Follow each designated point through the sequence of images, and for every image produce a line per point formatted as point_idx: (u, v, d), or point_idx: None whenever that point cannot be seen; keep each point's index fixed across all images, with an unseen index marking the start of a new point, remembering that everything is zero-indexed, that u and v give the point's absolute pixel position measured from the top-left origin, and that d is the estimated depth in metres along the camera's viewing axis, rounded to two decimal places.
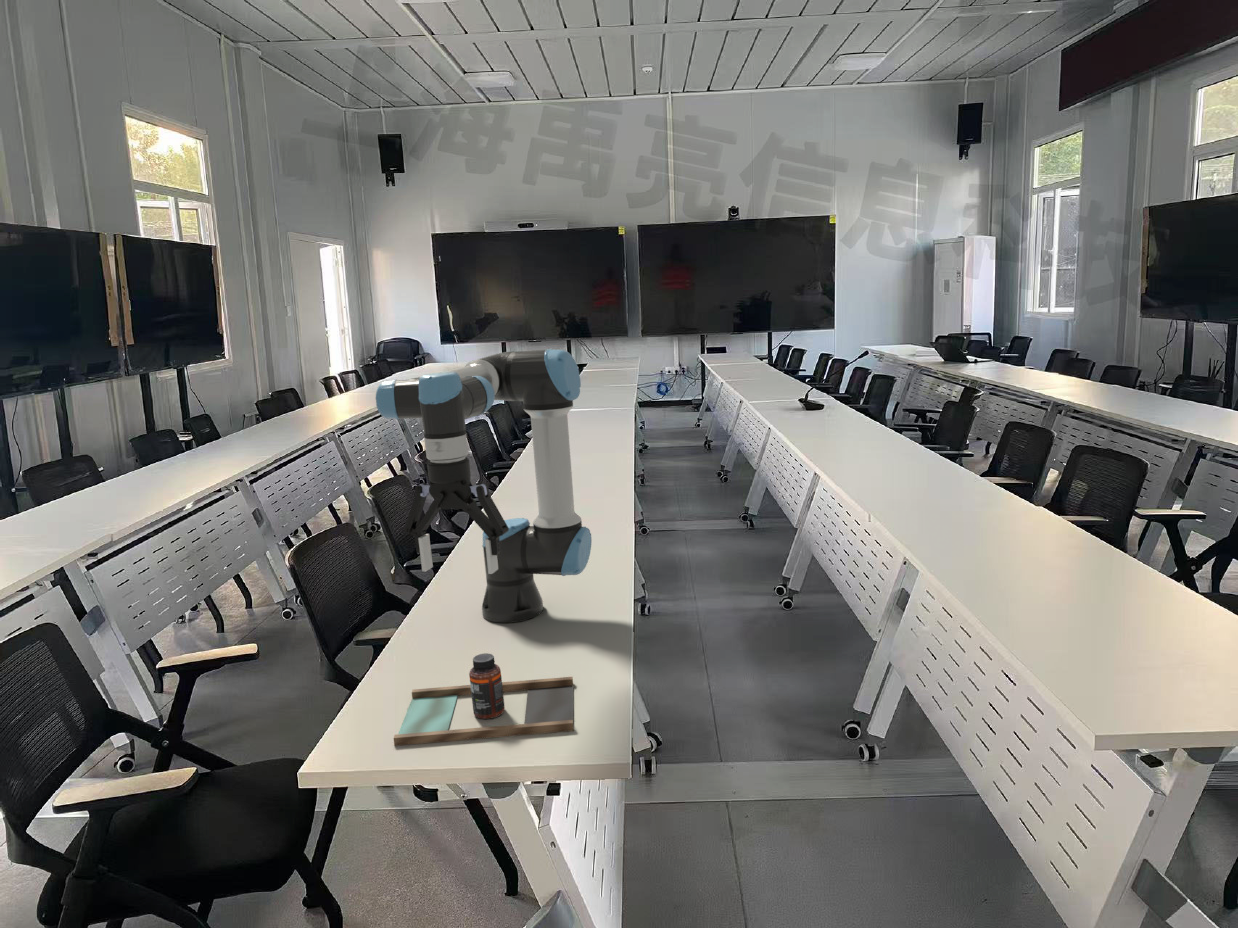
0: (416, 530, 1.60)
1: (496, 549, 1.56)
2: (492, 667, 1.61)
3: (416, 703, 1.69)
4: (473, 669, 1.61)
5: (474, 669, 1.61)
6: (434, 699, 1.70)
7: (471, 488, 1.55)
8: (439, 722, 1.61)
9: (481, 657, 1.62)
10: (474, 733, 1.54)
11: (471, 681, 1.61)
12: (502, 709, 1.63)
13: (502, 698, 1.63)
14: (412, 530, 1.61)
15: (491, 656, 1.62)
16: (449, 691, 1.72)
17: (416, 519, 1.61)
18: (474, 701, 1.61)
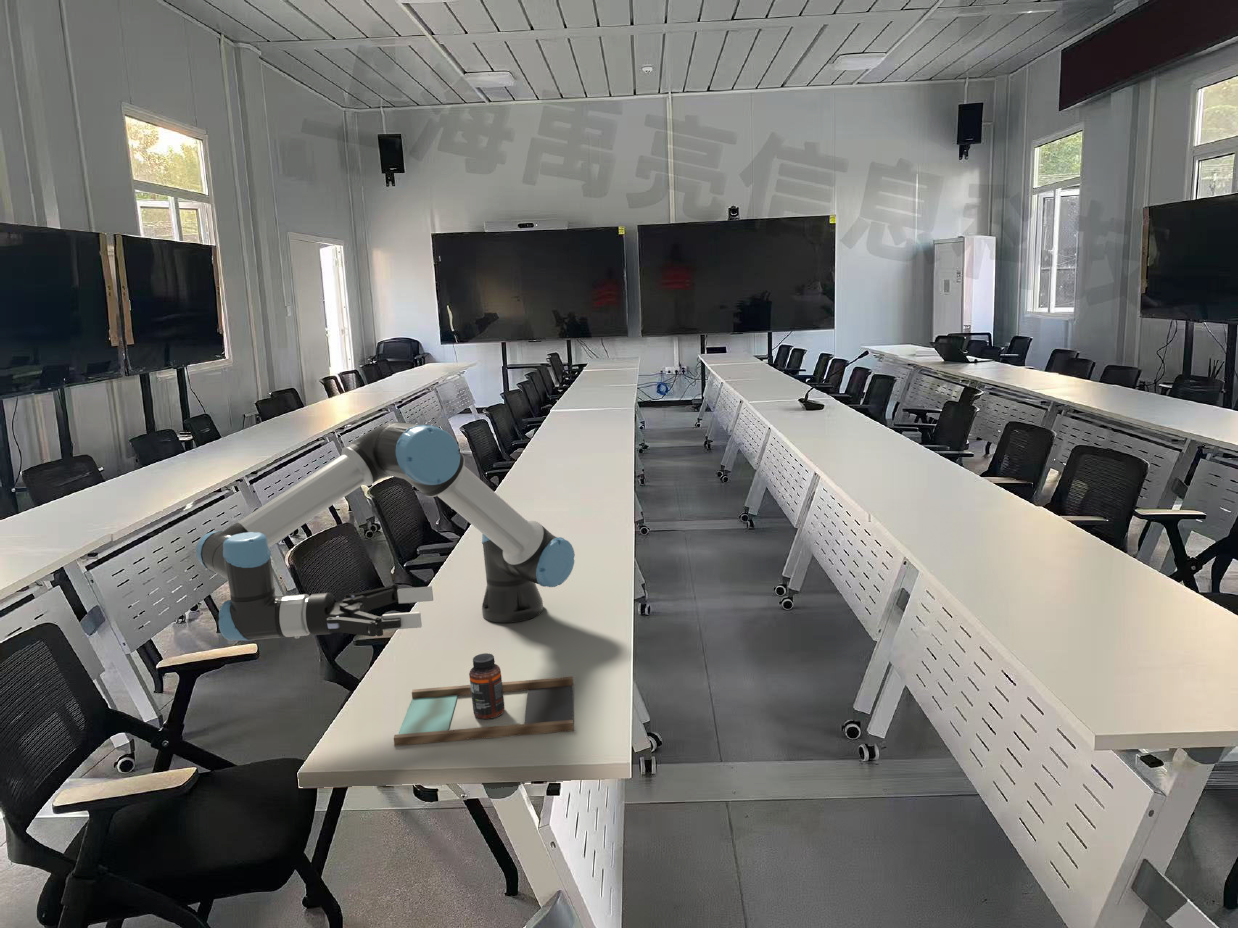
0: None
1: None
2: (492, 667, 1.61)
3: (416, 703, 1.69)
4: (473, 669, 1.61)
5: (474, 669, 1.61)
6: (434, 699, 1.70)
7: None
8: (439, 722, 1.61)
9: (481, 657, 1.62)
10: (474, 733, 1.54)
11: (471, 681, 1.61)
12: (502, 709, 1.63)
13: (502, 698, 1.63)
14: None
15: (491, 656, 1.62)
16: (449, 691, 1.72)
17: None
18: (474, 701, 1.61)
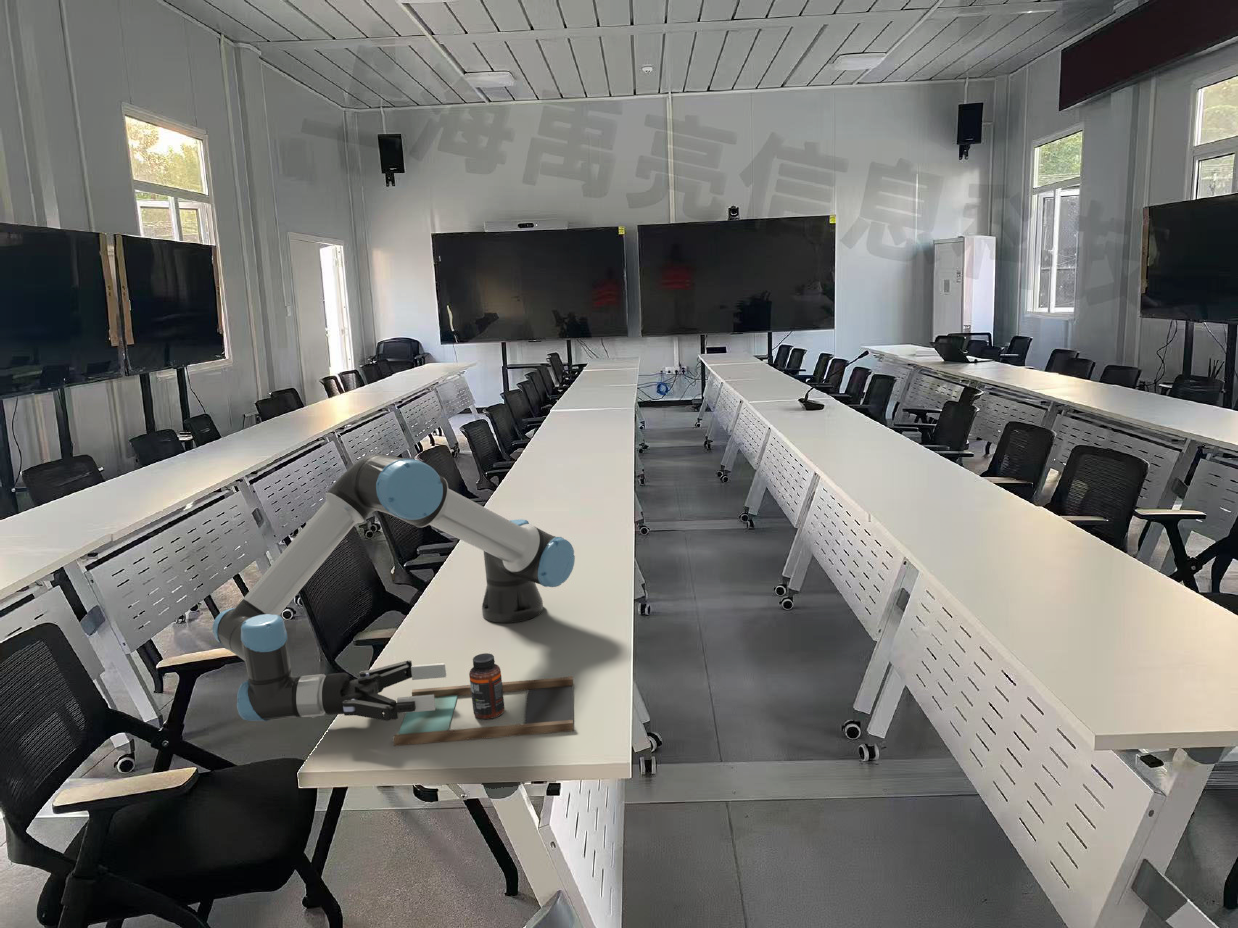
0: None
1: None
2: (492, 667, 1.61)
3: None
4: (473, 669, 1.61)
5: (474, 669, 1.61)
6: None
7: None
8: (439, 722, 1.61)
9: (481, 657, 1.62)
10: (474, 733, 1.54)
11: (471, 681, 1.61)
12: (502, 709, 1.63)
13: (502, 698, 1.63)
14: None
15: (491, 656, 1.62)
16: (449, 691, 1.72)
17: None
18: (474, 701, 1.61)
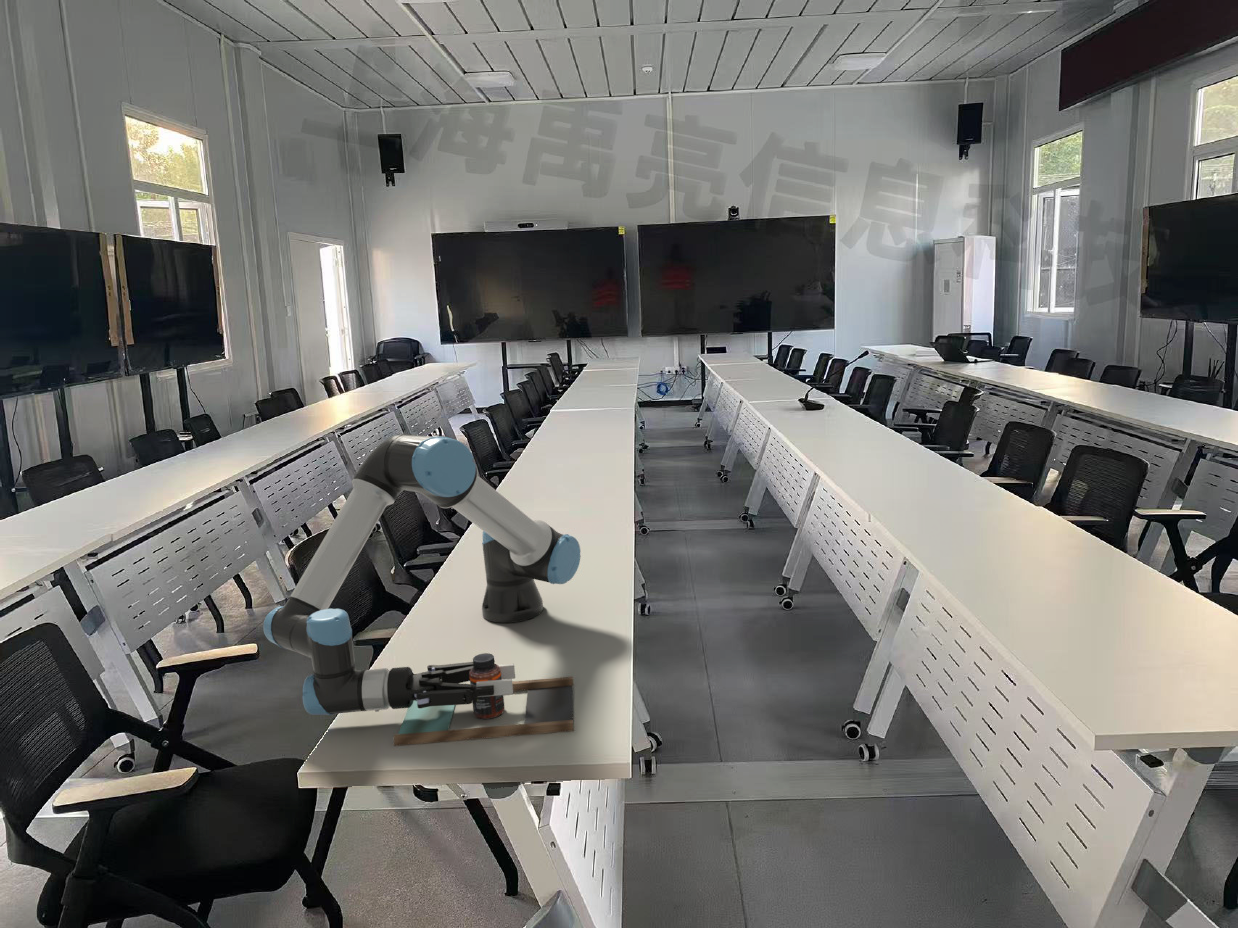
0: None
1: None
2: (492, 667, 1.61)
3: (416, 703, 1.69)
4: (473, 669, 1.61)
5: (474, 669, 1.61)
6: None
7: None
8: (439, 722, 1.61)
9: (481, 657, 1.62)
10: (474, 733, 1.54)
11: (471, 681, 1.61)
12: (502, 709, 1.63)
13: (502, 698, 1.63)
14: None
15: (491, 656, 1.62)
16: None
17: None
18: None
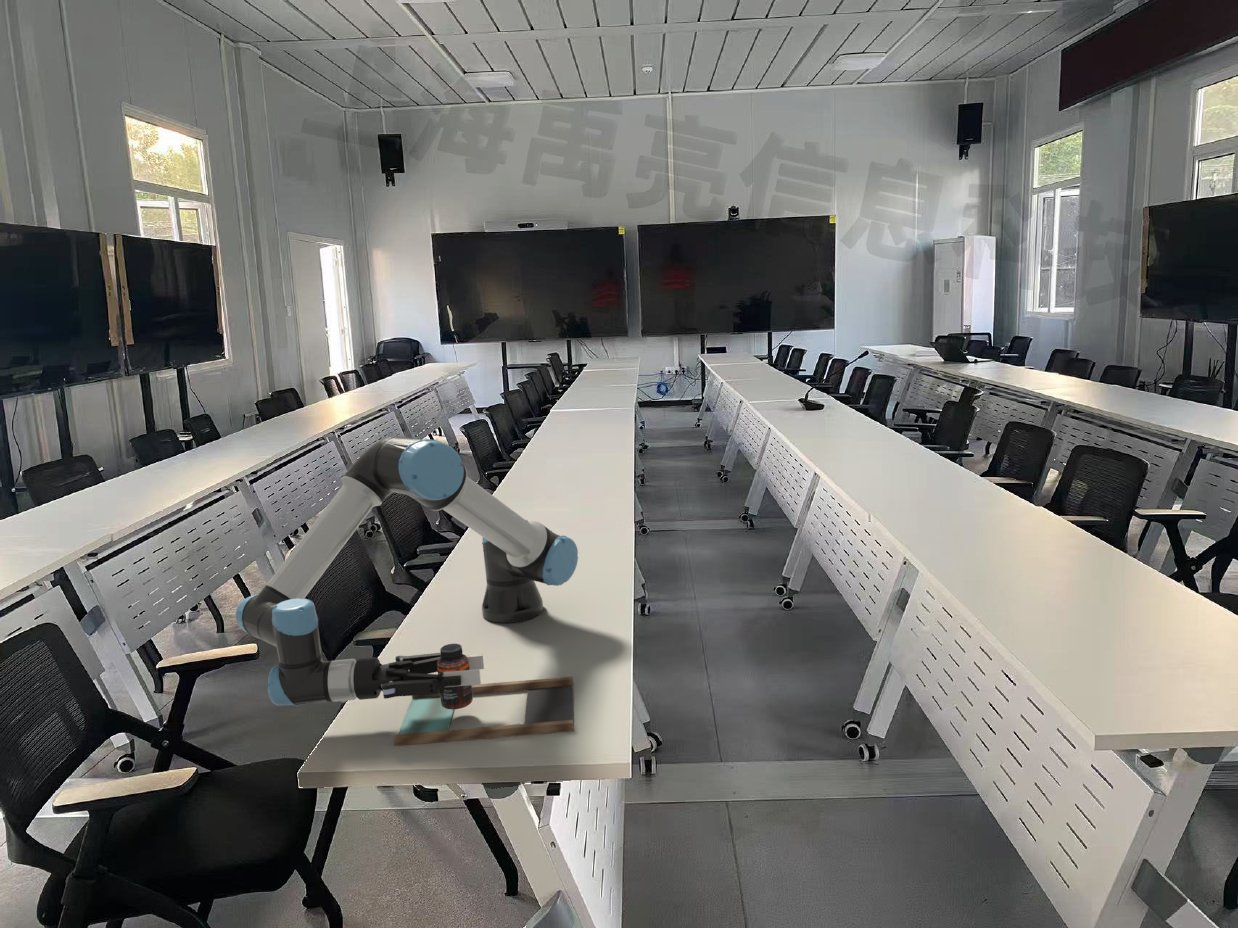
0: None
1: None
2: (459, 657, 1.60)
3: (416, 703, 1.69)
4: (440, 659, 1.60)
5: (441, 659, 1.60)
6: (434, 699, 1.70)
7: None
8: (439, 722, 1.61)
9: (449, 647, 1.61)
10: (474, 733, 1.54)
11: (438, 672, 1.60)
12: (470, 700, 1.62)
13: (470, 688, 1.62)
14: None
15: (459, 646, 1.61)
16: None
17: None
18: None
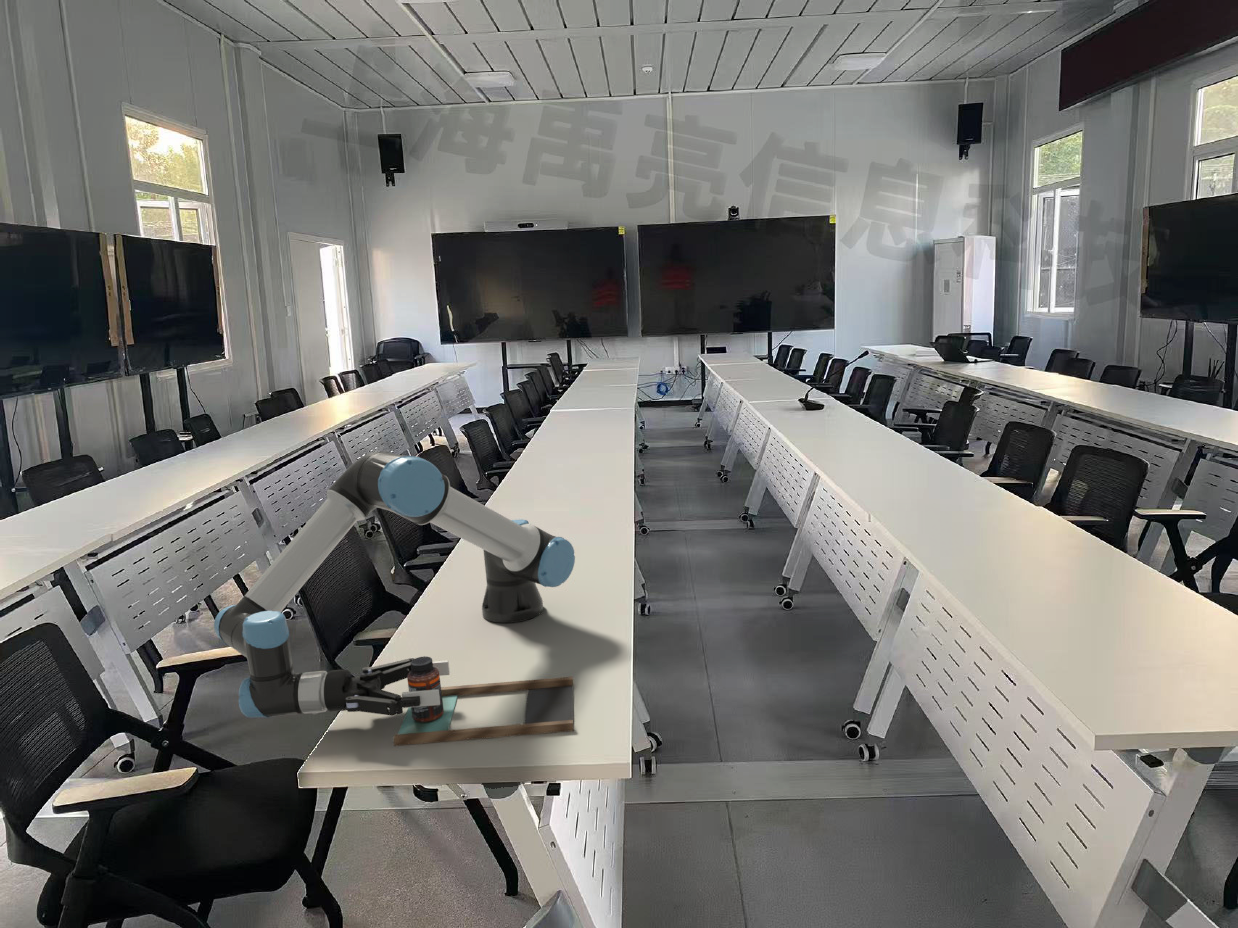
0: None
1: (413, 705, 1.55)
2: (429, 671, 1.60)
3: None
4: (411, 672, 1.61)
5: (412, 672, 1.60)
6: None
7: None
8: (439, 722, 1.61)
9: (419, 660, 1.61)
10: (474, 733, 1.54)
11: (409, 685, 1.60)
12: (441, 712, 1.62)
13: (441, 701, 1.62)
14: None
15: (429, 659, 1.61)
16: (449, 691, 1.72)
17: None
18: None
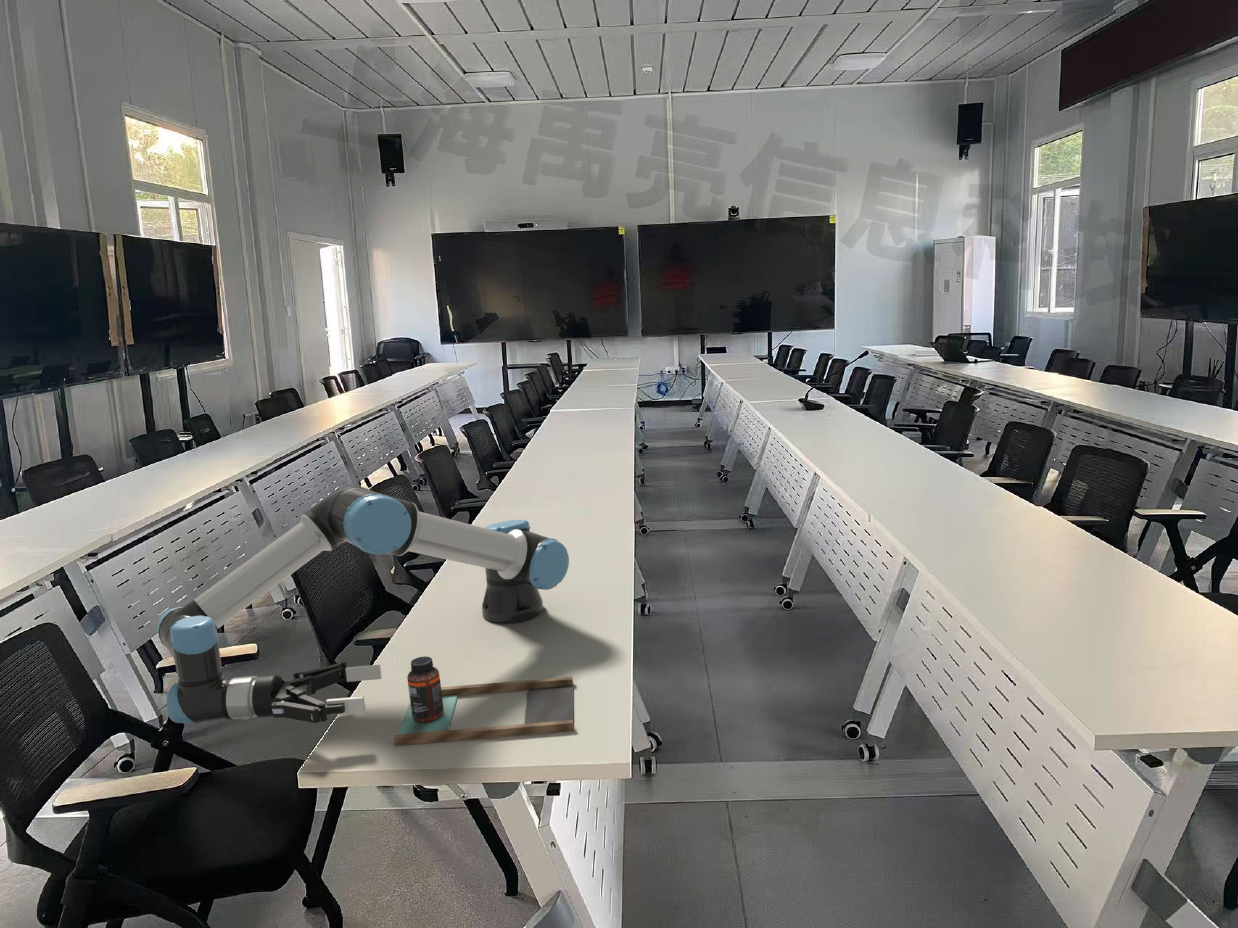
0: None
1: None
2: (429, 671, 1.60)
3: None
4: (411, 672, 1.61)
5: (412, 672, 1.60)
6: None
7: None
8: (439, 722, 1.61)
9: (419, 660, 1.61)
10: (474, 733, 1.54)
11: (409, 685, 1.60)
12: (441, 712, 1.62)
13: (441, 701, 1.62)
14: None
15: (429, 659, 1.61)
16: (449, 691, 1.72)
17: None
18: (412, 704, 1.61)
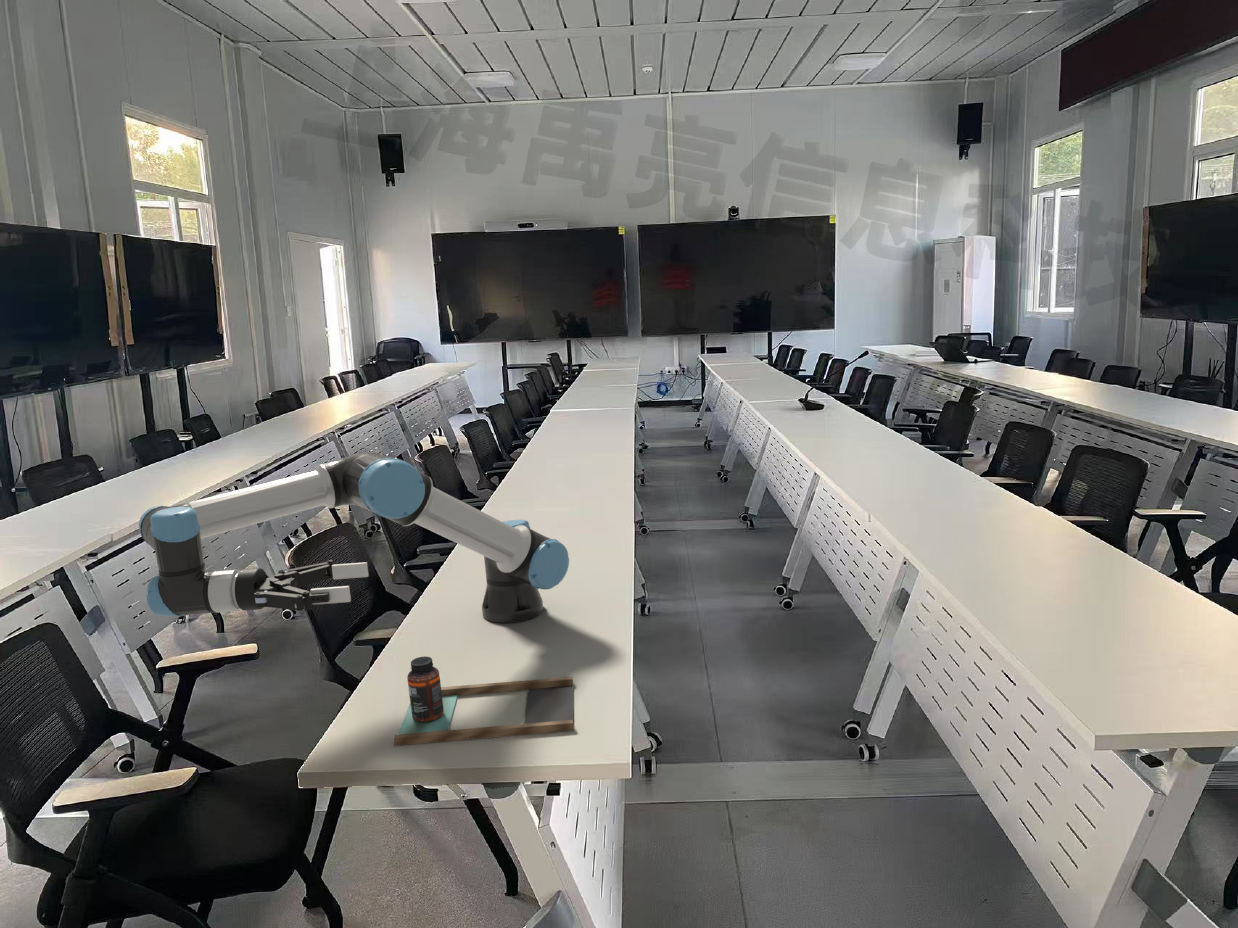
0: None
1: None
2: (429, 671, 1.60)
3: None
4: (411, 672, 1.61)
5: (412, 672, 1.60)
6: None
7: None
8: (439, 722, 1.61)
9: (419, 660, 1.61)
10: (474, 733, 1.54)
11: (409, 685, 1.60)
12: (441, 712, 1.62)
13: (441, 701, 1.62)
14: None
15: (429, 659, 1.61)
16: (449, 691, 1.72)
17: None
18: (412, 704, 1.61)
